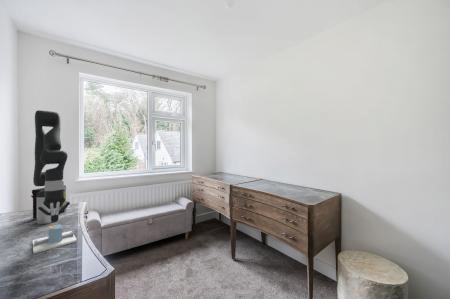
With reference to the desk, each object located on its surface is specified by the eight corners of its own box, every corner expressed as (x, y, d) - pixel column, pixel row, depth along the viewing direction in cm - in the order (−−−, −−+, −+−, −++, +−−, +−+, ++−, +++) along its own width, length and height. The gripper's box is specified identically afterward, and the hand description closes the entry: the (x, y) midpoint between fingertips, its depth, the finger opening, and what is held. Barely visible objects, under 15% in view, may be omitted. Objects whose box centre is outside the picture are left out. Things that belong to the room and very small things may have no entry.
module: (47, 239, 100) (47, 226, 100) (60, 236, 104) (60, 223, 104) (48, 243, 95) (48, 230, 95) (61, 240, 99) (61, 227, 99)
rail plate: (32, 242, 99) (32, 237, 99) (71, 232, 111) (71, 228, 111) (33, 253, 88) (33, 248, 88) (76, 241, 100) (76, 236, 100)
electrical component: (42, 219, 132) (42, 190, 132) (30, 218, 134) (30, 189, 134) (67, 211, 149) (67, 185, 149) (57, 210, 151) (57, 185, 151)
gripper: (69, 186, 107) (69, 217, 107) (36, 189, 97) (36, 223, 97) (71, 187, 102) (72, 220, 102) (36, 192, 92) (37, 227, 92)
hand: (54, 222), depth 99 cm, fingers closed
